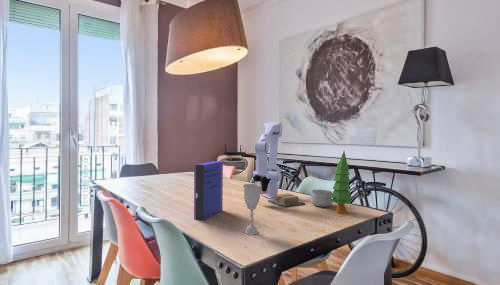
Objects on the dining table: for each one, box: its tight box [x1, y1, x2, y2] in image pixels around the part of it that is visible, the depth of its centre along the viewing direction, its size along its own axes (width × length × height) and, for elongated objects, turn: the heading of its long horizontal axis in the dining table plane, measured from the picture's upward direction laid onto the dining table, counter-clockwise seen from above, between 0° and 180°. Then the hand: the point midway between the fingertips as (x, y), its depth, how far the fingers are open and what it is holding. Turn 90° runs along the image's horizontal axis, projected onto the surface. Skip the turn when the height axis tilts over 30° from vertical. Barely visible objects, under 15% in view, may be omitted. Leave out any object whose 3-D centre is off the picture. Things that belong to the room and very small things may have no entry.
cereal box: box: [193, 160, 224, 221], centre depth 138 cm, size 17×5×24 cm, turn 157°
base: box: [267, 193, 306, 208], centre depth 161 cm, size 14×14×4 cm
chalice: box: [242, 183, 261, 236], centre depth 114 cm, size 7×7×18 cm
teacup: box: [310, 189, 334, 208], centre depth 156 cm, size 14×11×8 cm
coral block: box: [254, 181, 268, 196], centre depth 157 cm, size 5×5×6 cm
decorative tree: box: [331, 151, 352, 215], centre depth 144 cm, size 10×9×30 cm
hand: (261, 190), depth 157 cm, fingers closed on coral block, 5 cm apart
